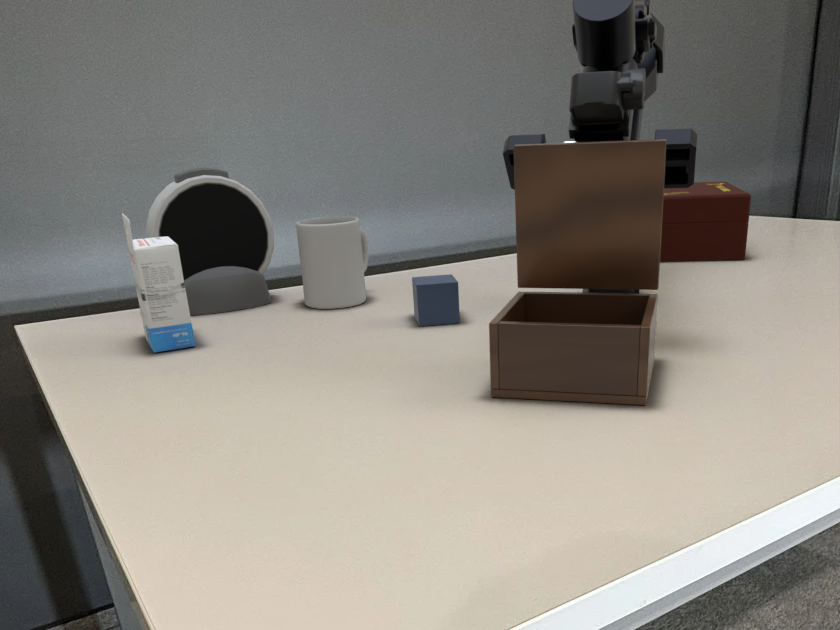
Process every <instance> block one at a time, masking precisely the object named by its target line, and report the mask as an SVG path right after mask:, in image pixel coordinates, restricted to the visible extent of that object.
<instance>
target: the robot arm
mask: <svg viewBox="0 0 840 630" xmlns="http://www.w3.org/2000/svg"><path fill="white" fill-rule="evenodd" d="M572 10H573V11H572V12H573V22H574V23H572V24H571V32H572V42H573V47H574V49H575V50H576V52H577V59H578V61H579V64H580V65H581V66H582V67H583V69H582V72H577V73H575V74H573V75H572V76H571V80H570V81H571V82H570V83H571V84H570V95H569V113H570V116H569V117H570V118H569V124H568V136H569V139H570V140H564V141H562V142H561V143H573V142H601V141H629V140H641V139H640V137H641V130H642V129H641V128H642V120H643V110H644V108H645V102H646V101H647V100H648V99H649V98H651V96H652V95H653V94H654V93H656V91H657V89H658V81H659V74H664V69H665V57H666V56H665V55H666V53H665V52H666V30H665V29H666V28H665V26H664V25H663V23H661V22H660V21H659V20H658V19H657V17H656V16H655V15H654V14H653V13H652V0H572ZM546 138H547V137H546V133H531V134H511V135H509V136H508V137H507V138H506V140H505V141H504V145H503V151H502V157H503V161H504V165H505V169H506V175H507V178H508V182H509V186H510V189H512V190H514V191H515V182H514V149H513V146H514V145H517V144H545V143H547V139H546ZM657 139H666V140H667V143H666V161H665V179H664V188H689V187H690V186H692V185H693V184H694V182H695V174H696V173H695V172H696V161H697V147H698V146H697V145H698V133H697V132H696V131H695V130H694V129H693V128H692V127H685V128H683V127H682V128H661V129H659V128H658V129H655V130H654V140H657ZM581 293H640V290H632V289H582V290H581Z"/></svg>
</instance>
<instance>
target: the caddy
mask: <svg viewBox="0 0 840 630" xmlns="http://www.w3.org/2000/svg"><path fill="white" fill-rule="evenodd" d="M658 303H659V294H658V293H642V292H641V293H640V292H639V293H582V292H581V291H580V292H577V291H576V292H575V291H574V292H573V291H518V292H517V293H515V295H514V296H513V297H512V298H511V299H510V300H509V301H508V302H507V303H506V304H505V306H504V307H502V309H501V310H500V311H499V312H498V313H497V314H496V315H495V316H494V317H493V318H492V320H491V321H490V322H489V323H488V336H489V338H488V340H489V341H488V343H489V378H490V379H489V380H490V397H491V398H502V399H503V398H505V399H523V400H539V401H540V400H541V401H542V400H543V401H560V402H579V403H598V404H614V405H615V404H617V405H632V406H633V405H634V406H647V403H648V396H649V392H650V387H651V386H650V385H651V380H652V375H653V370H654V364H655V353H656V352H655V351H656V335H657V318H658Z"/></svg>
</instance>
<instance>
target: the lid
mask: <svg viewBox="0 0 840 630" xmlns="http://www.w3.org/2000/svg"><path fill="white" fill-rule="evenodd" d="M666 143H667V140H666V139H657V140H655V139H639V140H629V141H601V142H573V143H562V142H551V143H550V142H549V143H547V142H546V143H545V144H517V145H514V146H513V149H514V182H515V190H514V210H515V215H514V216H515V240H516V241H515V242H516V245H515V246H516V273H517V276H516V277H517V288H518V289H565V290H566V289H567V290H568V289H571V290H572V289H573V290H583V289H632V290H641V291H658V290H659V287H660V286H659V285H660V270H661V262H660V252H661V234H662V216H663V198H664V179H665V161H666Z"/></svg>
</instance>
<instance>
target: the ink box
mask: <svg viewBox="0 0 840 630" xmlns="http://www.w3.org/2000/svg"><path fill="white" fill-rule="evenodd" d="M121 216H122V218H121V219H122V223H123V229H124V233H125V238H126V244H127V249H128V254H129V259H130V264H131V269H132V275H133V281H134V285H135V290H136V296H137V301H138V305H139V311H140V315H141V320H142V325H143V330H144V336H145V340H146V341H147V343H148V346H149V347H150V349H151V351H152V353H161V352H167V351H173V350H180V349H186V348H194V347H196V340H195V339H196V338H195V334H194V328H193V322H192V317H191V315H190V312H189V306H188V301H187V295H186V290H185V284H184V278H183V273H182V267H181V261H180V255H179V249H178V245H177V244H176V243H175V242H174V241H173V240H171V239H170V238H169V237H168V236H166V237H154V238H147V237H145V238H136V239H133V234H132V229H131V220H130V218H128V216H127V215H126V214H124V213H123V212H122V213H121Z"/></svg>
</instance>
